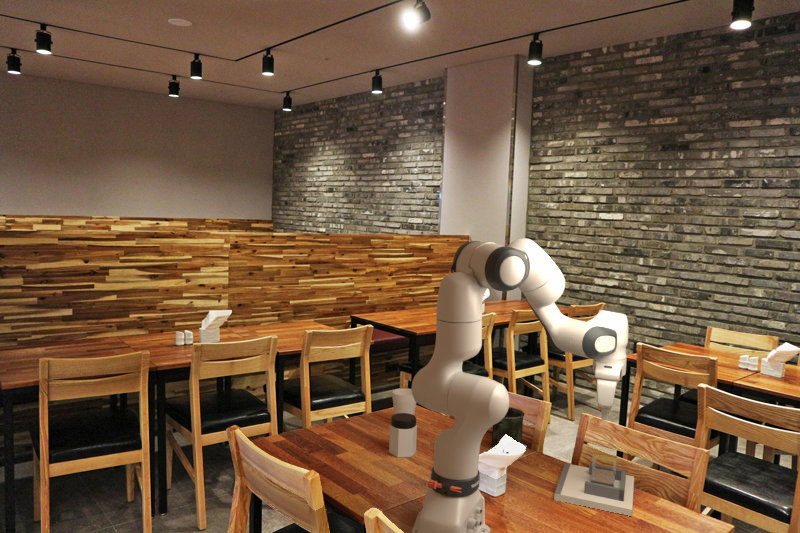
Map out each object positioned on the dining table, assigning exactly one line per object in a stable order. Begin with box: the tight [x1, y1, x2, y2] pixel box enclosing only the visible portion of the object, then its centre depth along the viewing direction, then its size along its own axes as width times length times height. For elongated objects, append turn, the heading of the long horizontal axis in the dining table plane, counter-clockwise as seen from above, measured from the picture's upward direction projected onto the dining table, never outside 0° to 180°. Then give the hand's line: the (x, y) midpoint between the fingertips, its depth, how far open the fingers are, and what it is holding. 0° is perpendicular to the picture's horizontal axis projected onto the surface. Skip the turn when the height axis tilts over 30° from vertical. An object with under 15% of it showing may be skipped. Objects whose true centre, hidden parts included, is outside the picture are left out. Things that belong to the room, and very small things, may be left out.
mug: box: [491, 406, 525, 448], centre depth 193 cm, size 11×15×12 cm
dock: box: [553, 462, 635, 517], centre depth 164 cm, size 22×20×5 cm
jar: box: [388, 413, 418, 459], centre depth 187 cm, size 9×8×12 cm
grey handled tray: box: [591, 451, 618, 487], centre depth 163 cm, size 9×6×9 cm
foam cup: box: [391, 387, 417, 416], centre depth 210 cm, size 10×9×13 cm
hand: (606, 414), depth 162 cm, fingers open, 8 cm apart
